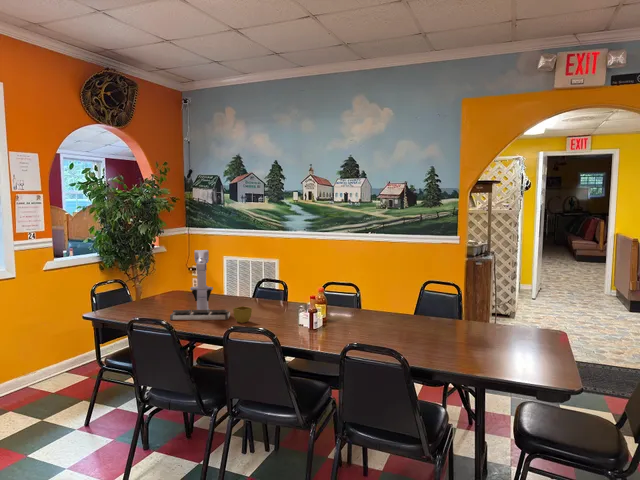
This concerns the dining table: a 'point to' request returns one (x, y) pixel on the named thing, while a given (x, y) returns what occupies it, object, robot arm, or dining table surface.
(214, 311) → the panel
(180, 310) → the grey rectangular frame
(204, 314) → the grey switch panel
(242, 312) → the flower pot
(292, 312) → the dining table surface
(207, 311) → the rocker
